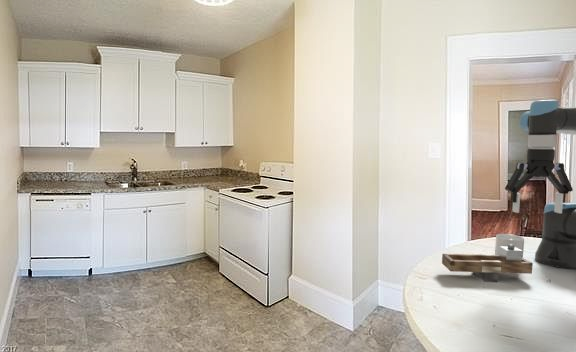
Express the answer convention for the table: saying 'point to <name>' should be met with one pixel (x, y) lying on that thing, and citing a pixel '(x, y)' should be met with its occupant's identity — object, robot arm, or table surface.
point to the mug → (508, 242)
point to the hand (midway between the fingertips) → (536, 212)
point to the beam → (484, 265)
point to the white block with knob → (510, 254)
